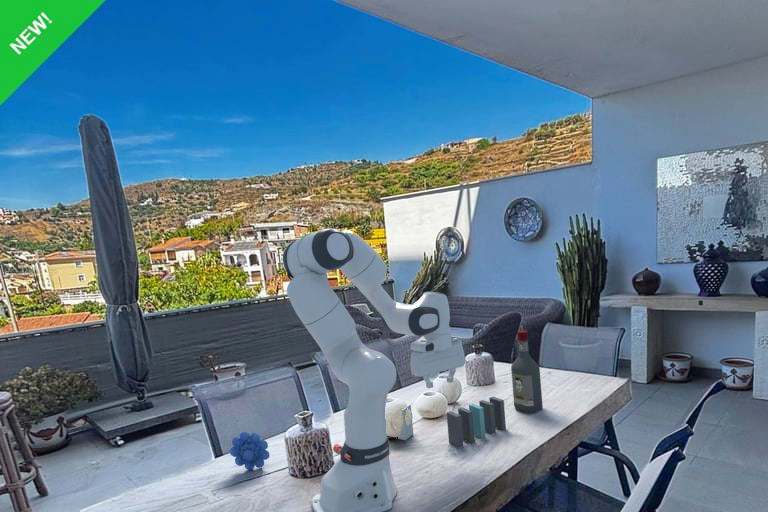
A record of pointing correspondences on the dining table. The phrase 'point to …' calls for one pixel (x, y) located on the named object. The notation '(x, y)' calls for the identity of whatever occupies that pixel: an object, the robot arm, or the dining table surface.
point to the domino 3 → (478, 420)
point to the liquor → (526, 379)
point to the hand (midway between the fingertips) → (440, 384)
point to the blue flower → (249, 450)
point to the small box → (406, 430)
